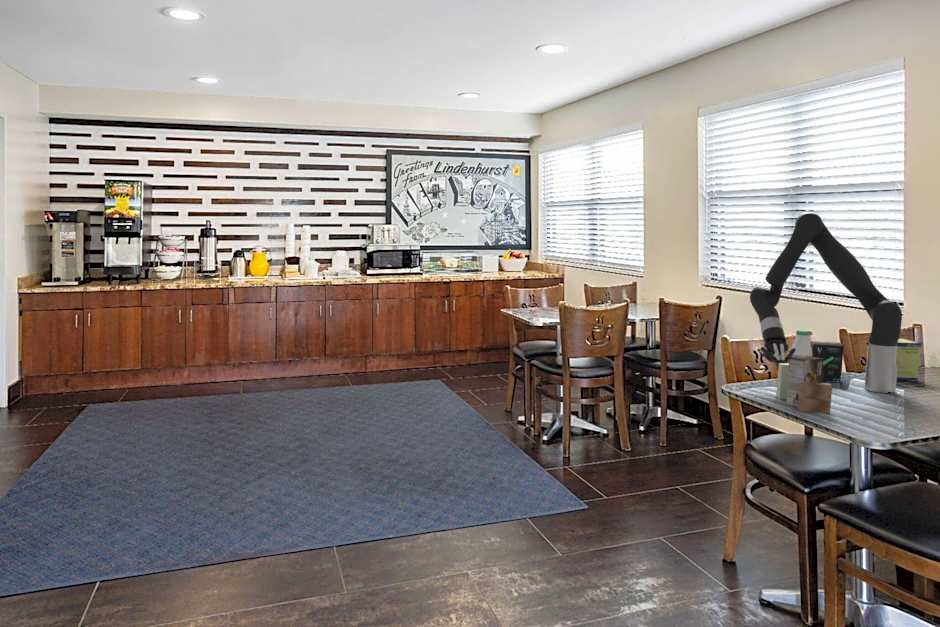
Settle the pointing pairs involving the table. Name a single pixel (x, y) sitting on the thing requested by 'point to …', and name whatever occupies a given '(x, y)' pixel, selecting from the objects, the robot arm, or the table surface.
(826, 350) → the tampon box
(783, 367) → the bookend
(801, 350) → the milk bottle
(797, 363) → the coffee box
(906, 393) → the table surface
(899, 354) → the protein box
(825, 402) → the end block
